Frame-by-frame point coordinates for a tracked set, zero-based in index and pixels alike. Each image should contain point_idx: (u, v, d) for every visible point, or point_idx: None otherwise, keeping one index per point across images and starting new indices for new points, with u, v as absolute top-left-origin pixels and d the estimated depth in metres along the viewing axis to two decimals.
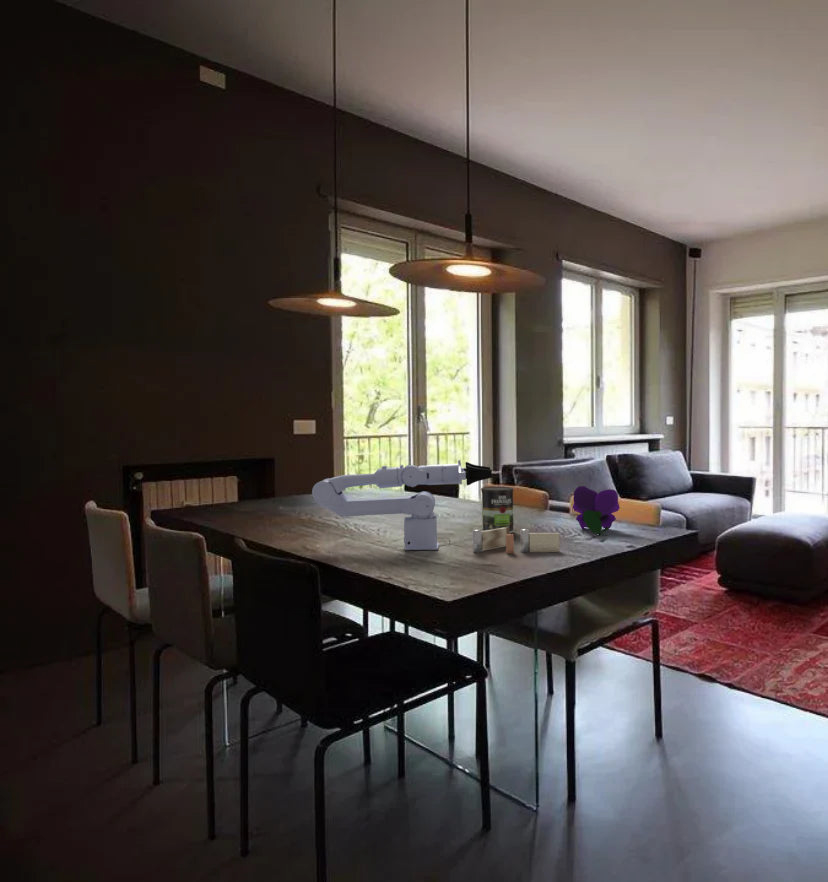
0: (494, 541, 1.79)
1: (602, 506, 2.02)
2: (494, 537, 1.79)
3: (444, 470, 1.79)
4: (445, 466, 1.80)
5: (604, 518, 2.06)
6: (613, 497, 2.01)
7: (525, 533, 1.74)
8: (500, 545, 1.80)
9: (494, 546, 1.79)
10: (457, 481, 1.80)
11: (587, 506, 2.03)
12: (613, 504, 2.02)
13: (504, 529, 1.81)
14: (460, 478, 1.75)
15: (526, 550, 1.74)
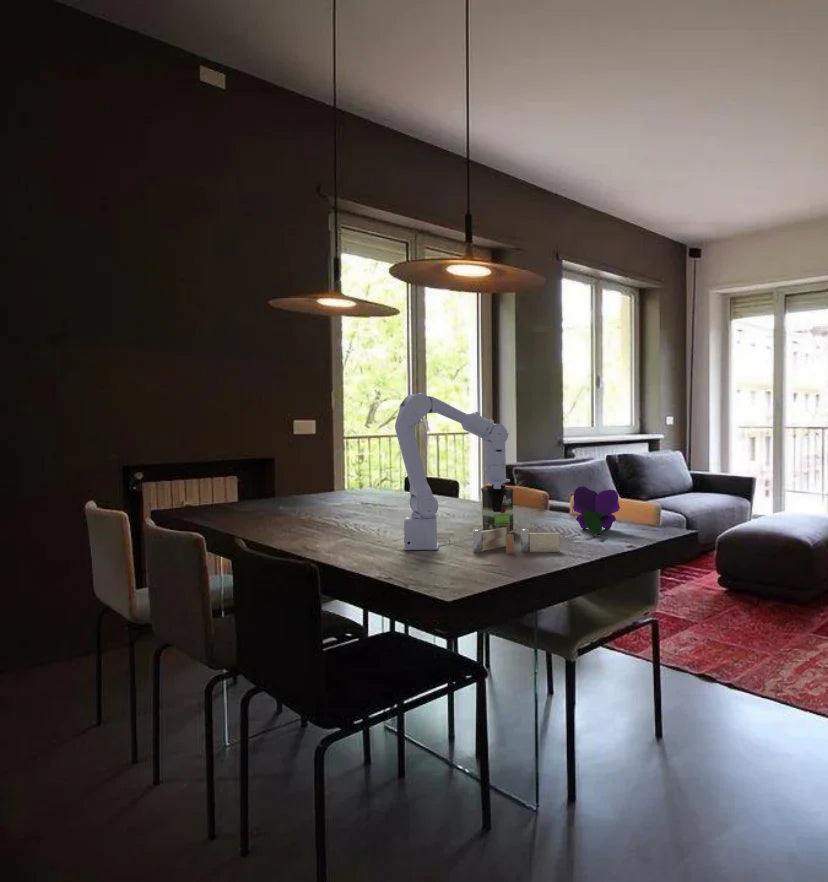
0: (494, 541, 1.79)
1: (602, 506, 2.01)
2: (494, 537, 1.79)
3: (500, 466, 1.85)
4: (504, 467, 1.86)
5: (604, 518, 2.05)
6: (613, 497, 2.01)
7: (525, 533, 1.74)
8: (500, 545, 1.80)
9: (494, 546, 1.79)
10: (489, 478, 1.86)
11: (587, 506, 2.02)
12: (614, 505, 2.01)
13: (504, 529, 1.81)
14: (495, 483, 1.81)
15: (526, 550, 1.74)
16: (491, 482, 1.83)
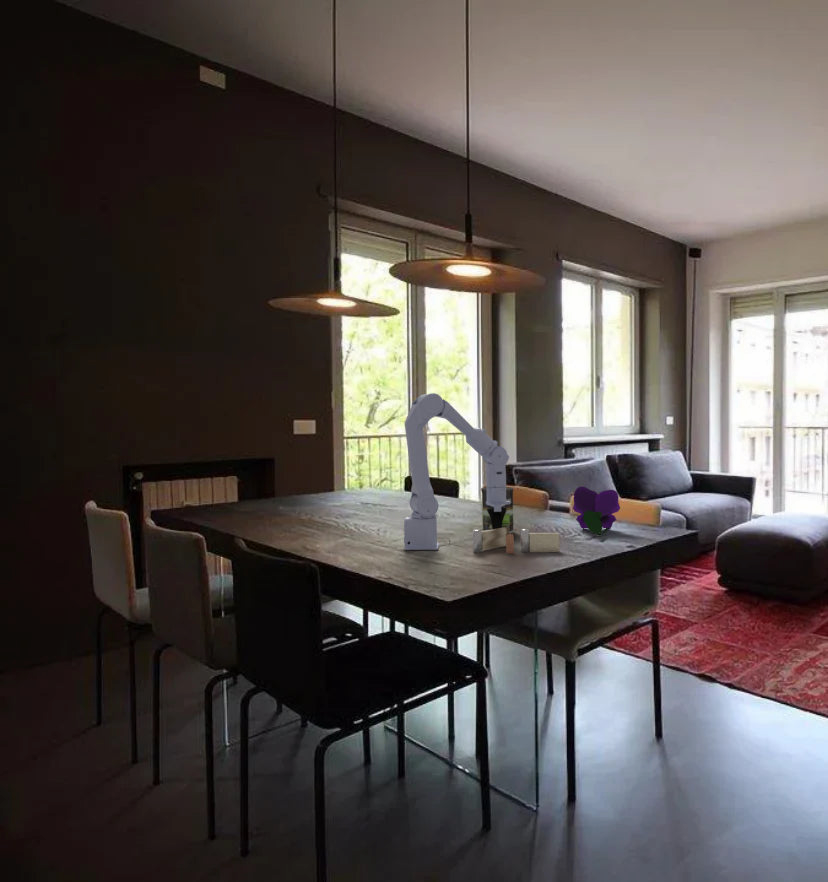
0: (494, 541, 1.79)
1: (602, 507, 2.01)
2: (494, 537, 1.79)
3: (501, 489, 1.85)
4: (504, 489, 1.86)
5: (604, 518, 2.05)
6: (614, 497, 2.00)
7: (525, 533, 1.74)
8: (500, 545, 1.80)
9: (494, 546, 1.79)
10: (489, 501, 1.86)
11: (587, 507, 2.02)
12: (614, 505, 2.01)
13: (504, 529, 1.81)
14: (495, 506, 1.81)
15: (526, 550, 1.74)
16: (491, 505, 1.83)
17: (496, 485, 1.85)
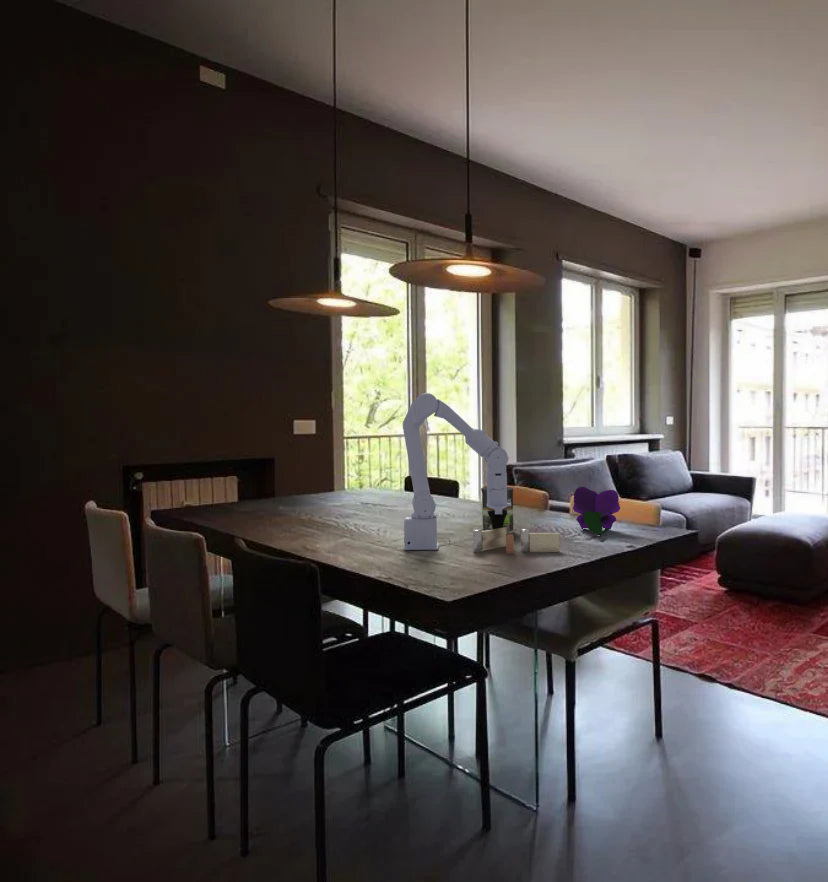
0: (494, 541, 1.79)
1: (602, 507, 2.00)
2: (494, 537, 1.79)
3: (502, 491, 1.81)
4: (505, 491, 1.82)
5: (604, 518, 2.04)
6: (614, 497, 2.00)
7: (525, 533, 1.74)
8: (500, 545, 1.80)
9: (494, 546, 1.79)
10: (490, 503, 1.82)
11: (587, 507, 2.02)
12: (614, 505, 2.00)
13: (504, 529, 1.81)
14: (496, 509, 1.76)
15: (526, 550, 1.74)
16: (492, 507, 1.79)
17: (495, 487, 1.81)
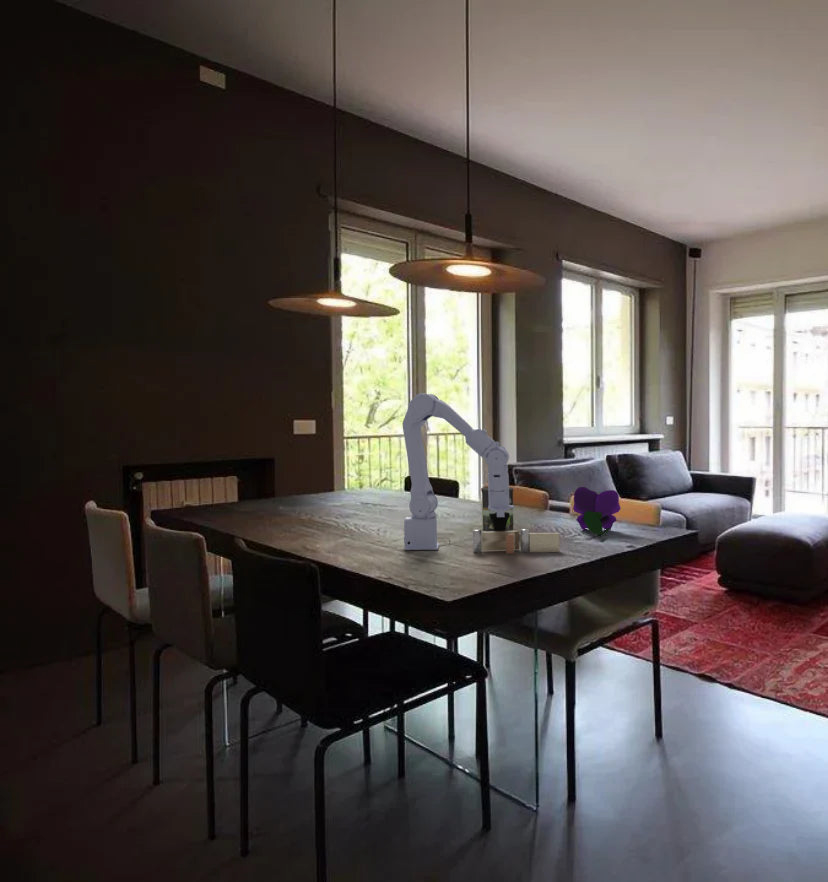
0: (498, 543, 1.76)
1: (603, 507, 2.00)
2: (498, 539, 1.76)
3: (504, 493, 1.75)
4: (507, 493, 1.75)
5: (604, 519, 2.04)
6: (614, 498, 1.99)
7: (525, 533, 1.74)
8: None
9: (498, 548, 1.76)
10: (492, 505, 1.75)
11: (587, 507, 2.01)
12: (614, 505, 2.00)
13: (512, 532, 1.76)
14: (498, 511, 1.70)
15: (526, 550, 1.74)
16: (494, 510, 1.73)
17: (493, 489, 1.75)
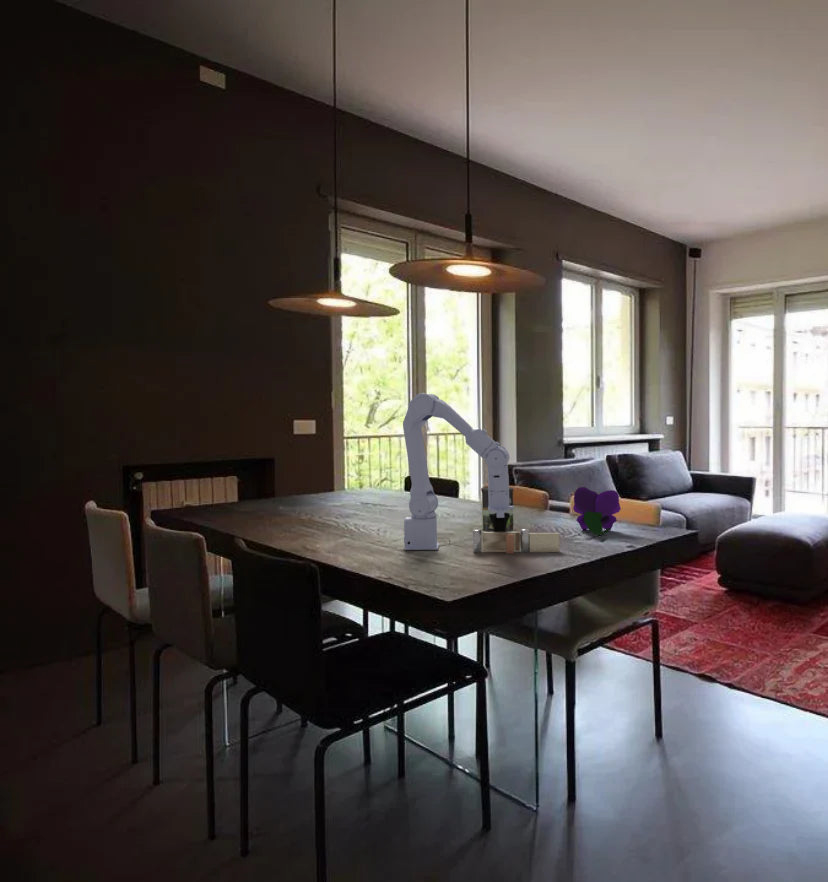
0: (498, 544, 1.75)
1: (603, 507, 2.00)
2: (498, 540, 1.75)
3: (504, 493, 1.74)
4: (507, 494, 1.75)
5: (604, 519, 2.04)
6: (614, 498, 1.99)
7: (525, 533, 1.74)
8: None
9: (498, 549, 1.75)
10: (492, 506, 1.75)
11: (588, 507, 2.01)
12: (614, 506, 2.00)
13: (512, 533, 1.75)
14: (498, 512, 1.69)
15: (526, 550, 1.74)
16: (494, 510, 1.72)
17: (493, 489, 1.74)
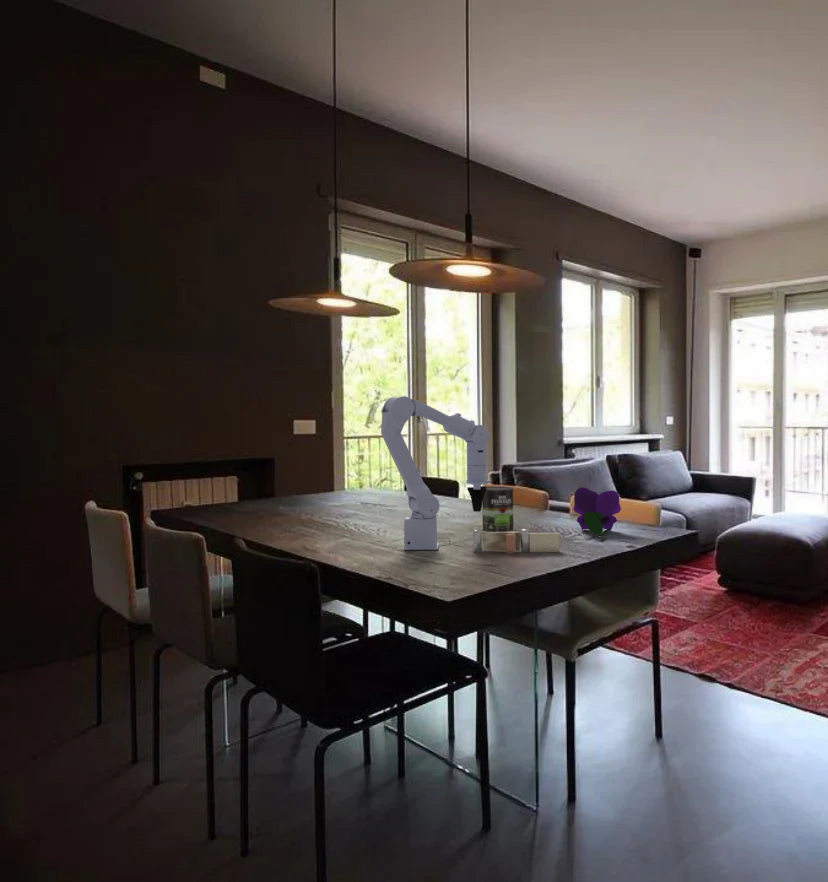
0: (498, 544, 1.75)
1: (603, 507, 1.99)
2: (498, 540, 1.75)
3: (481, 467, 1.85)
4: (484, 468, 1.86)
5: (605, 519, 2.03)
6: (614, 498, 1.98)
7: (525, 533, 1.74)
8: None
9: (498, 549, 1.75)
10: (470, 479, 1.86)
11: (588, 507, 2.00)
12: (615, 506, 1.99)
13: (512, 533, 1.75)
14: (474, 484, 1.81)
15: (526, 550, 1.74)
16: (471, 483, 1.84)
17: (477, 463, 1.85)
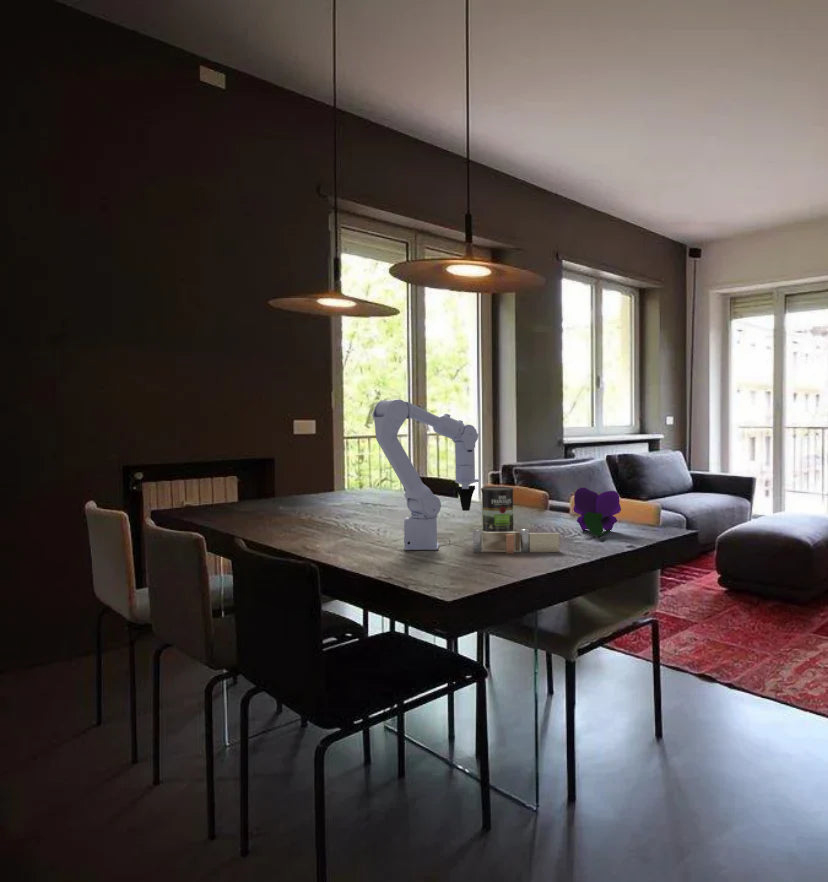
0: (498, 544, 1.75)
1: (603, 508, 1.98)
2: (498, 540, 1.75)
3: (469, 467, 1.87)
4: (473, 467, 1.88)
5: (605, 520, 2.02)
6: (615, 498, 1.98)
7: (525, 533, 1.74)
8: None
9: (498, 549, 1.75)
10: (458, 478, 1.88)
11: (588, 508, 1.99)
12: (615, 506, 1.98)
13: (512, 533, 1.75)
14: (463, 483, 1.82)
15: (526, 550, 1.74)
16: (460, 482, 1.85)
17: (467, 463, 1.87)
